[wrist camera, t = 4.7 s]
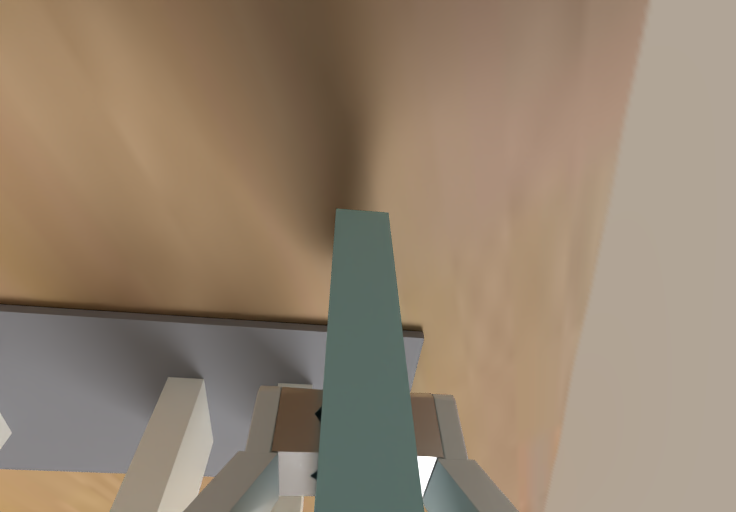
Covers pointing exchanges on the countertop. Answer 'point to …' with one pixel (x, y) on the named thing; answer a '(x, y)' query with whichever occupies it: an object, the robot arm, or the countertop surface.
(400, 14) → the countertop surface
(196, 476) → the domino
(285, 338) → the mat
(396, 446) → the teal domino
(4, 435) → the domino
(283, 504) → the domino
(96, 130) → the countertop surface
